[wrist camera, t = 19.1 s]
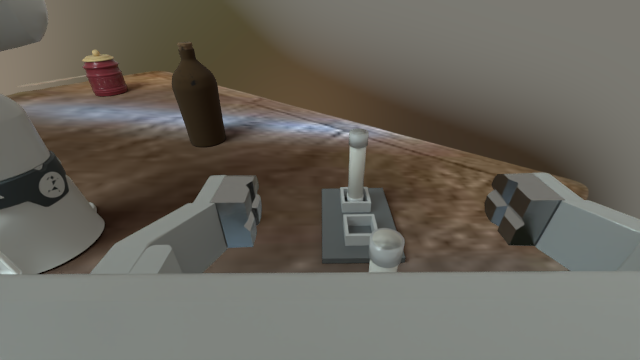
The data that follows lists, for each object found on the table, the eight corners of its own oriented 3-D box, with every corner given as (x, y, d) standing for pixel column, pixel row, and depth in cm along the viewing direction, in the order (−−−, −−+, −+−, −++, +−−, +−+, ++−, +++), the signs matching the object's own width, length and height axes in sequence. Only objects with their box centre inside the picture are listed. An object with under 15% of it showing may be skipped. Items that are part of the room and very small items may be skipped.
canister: (93, 92, 127) (74, 50, 117) (126, 87, 134) (110, 46, 124) (96, 98, 118) (76, 53, 109) (131, 92, 125) (115, 49, 116)
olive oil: (235, 138, 80) (217, 41, 67) (202, 152, 73) (174, 46, 60) (214, 130, 86) (192, 39, 72) (181, 142, 79) (151, 43, 66)
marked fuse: (362, 341, 31) (372, 252, 24) (359, 316, 34) (367, 228, 26) (390, 341, 31) (408, 251, 24) (384, 315, 34) (400, 227, 26)
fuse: (347, 208, 50) (350, 136, 43) (345, 198, 53) (348, 128, 45) (363, 208, 50) (369, 136, 43) (361, 198, 53) (367, 128, 45)
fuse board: (322, 263, 41) (322, 248, 40) (321, 193, 56) (321, 180, 55) (404, 262, 41) (407, 247, 39) (381, 192, 56) (383, 179, 55)
